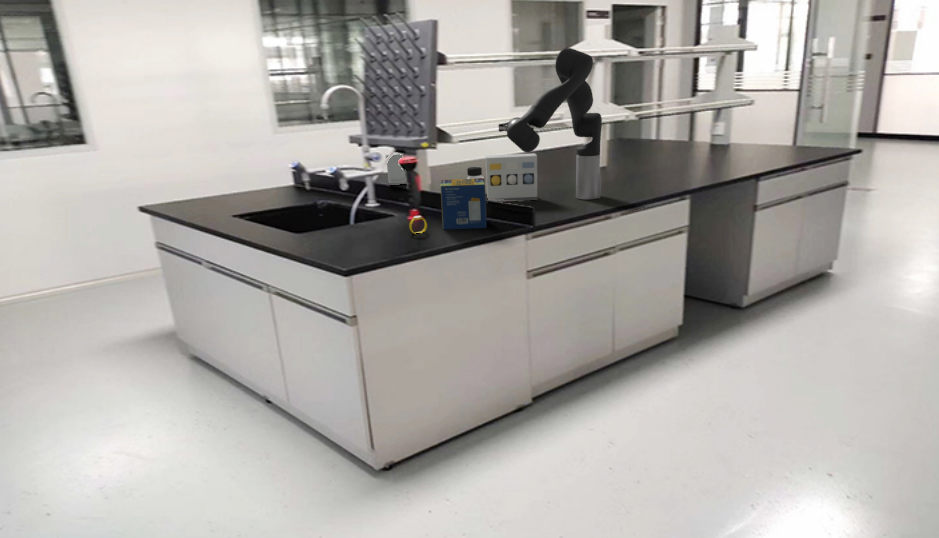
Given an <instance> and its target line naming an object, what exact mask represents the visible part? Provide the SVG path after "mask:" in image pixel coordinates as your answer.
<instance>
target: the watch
mask: <svg viewBox="0 0 939 538" xmlns="http://www.w3.org/2000/svg"><path fill="white" fill-rule="evenodd" d="M417 220H422V221H423V222H424V225H423V229H422V230H421V231H416V232H415V231H414V230H413V229H412V228H413V224H414V222H415V221H417ZM408 228H409V230H410V232H412V234H414V235H417V234H416V233H420V234H424V233H425V232H426V230H427V228H428V224H427V220H426V219H425V218H423V217H422V215H414V216H413V218H412V219H411V220H410V222H409V227H408ZM423 232H424V233H423Z"/></svg>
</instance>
